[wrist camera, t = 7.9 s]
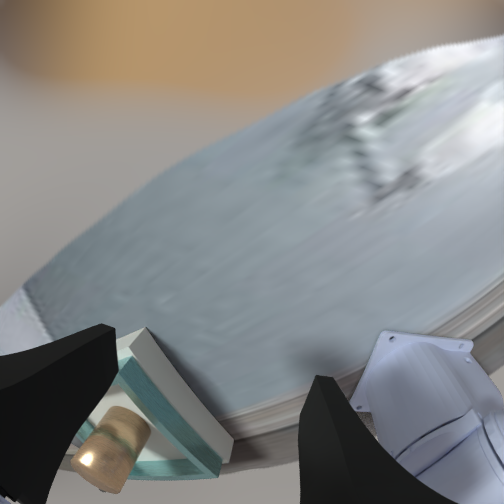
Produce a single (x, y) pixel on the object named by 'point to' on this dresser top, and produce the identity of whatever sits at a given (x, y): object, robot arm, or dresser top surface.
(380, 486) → the robot arm
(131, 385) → the frame
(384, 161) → the dresser top surface
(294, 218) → the dresser top surface
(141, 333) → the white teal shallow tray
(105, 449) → the bronze metal cylinder
